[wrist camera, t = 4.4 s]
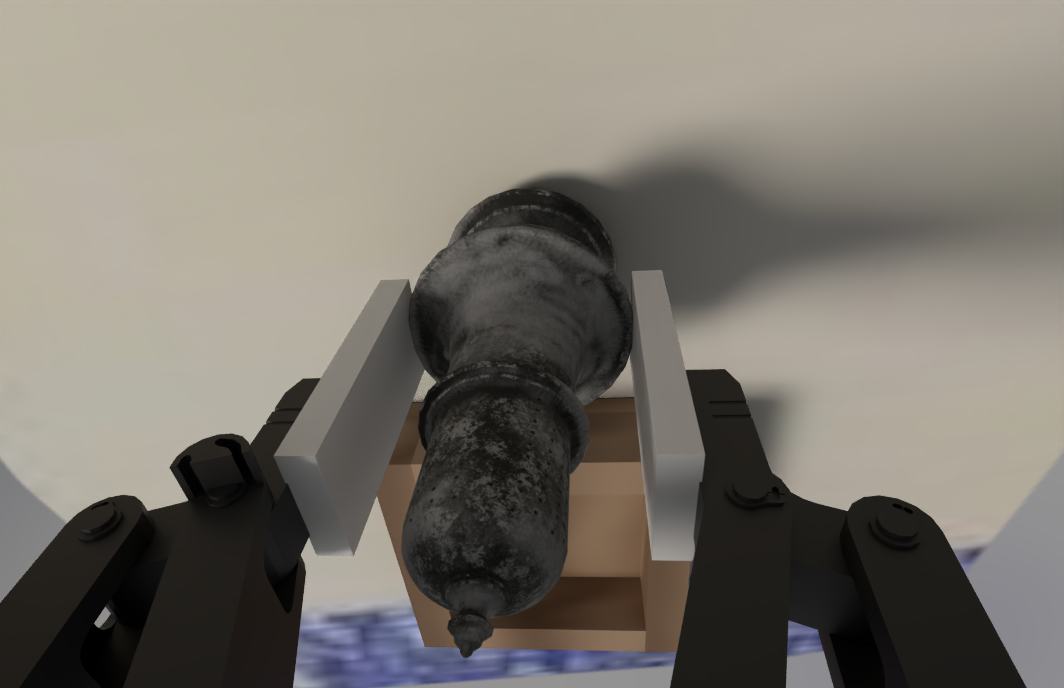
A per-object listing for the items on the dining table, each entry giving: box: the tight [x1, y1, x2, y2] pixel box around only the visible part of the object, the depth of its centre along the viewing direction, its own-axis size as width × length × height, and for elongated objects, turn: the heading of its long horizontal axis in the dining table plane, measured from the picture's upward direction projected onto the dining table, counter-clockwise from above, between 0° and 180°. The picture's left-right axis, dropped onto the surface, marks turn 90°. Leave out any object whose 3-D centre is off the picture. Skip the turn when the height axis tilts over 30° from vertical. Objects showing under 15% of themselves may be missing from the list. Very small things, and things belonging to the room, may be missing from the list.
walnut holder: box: [377, 398, 691, 652], centre depth 24 cm, size 11×11×3 cm
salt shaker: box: [401, 188, 633, 658], centre depth 13 cm, size 6×6×12 cm
